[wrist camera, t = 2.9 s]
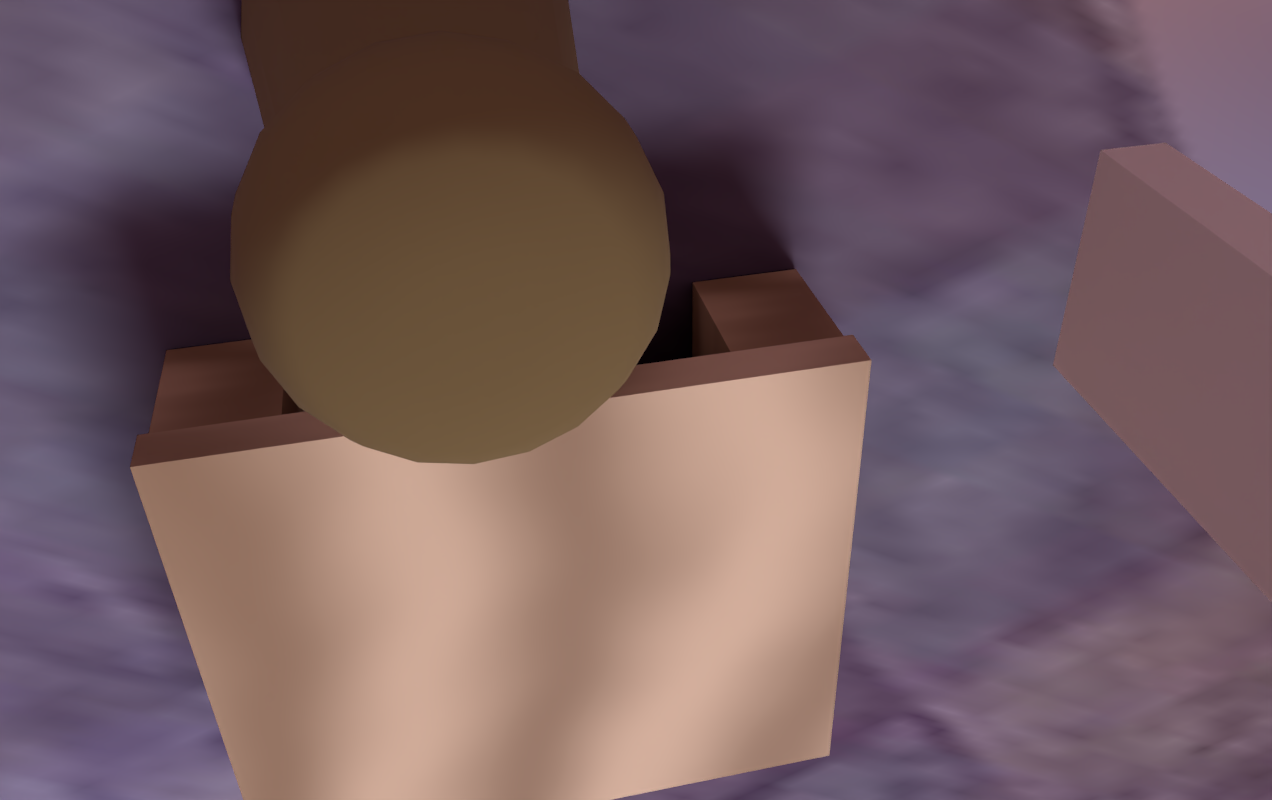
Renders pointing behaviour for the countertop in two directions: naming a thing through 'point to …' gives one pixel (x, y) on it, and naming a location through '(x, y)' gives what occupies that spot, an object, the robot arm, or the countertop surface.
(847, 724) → the countertop surface
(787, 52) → the countertop surface
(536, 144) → the cork
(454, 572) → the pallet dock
